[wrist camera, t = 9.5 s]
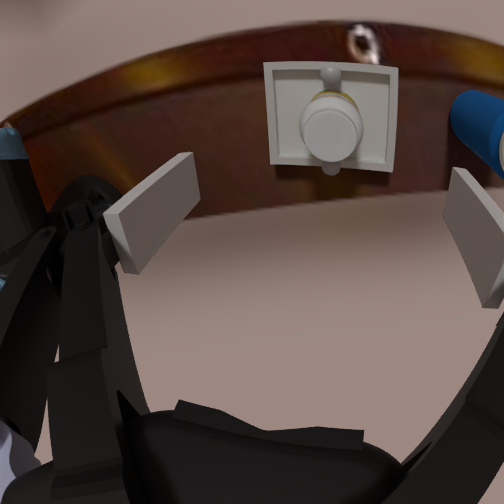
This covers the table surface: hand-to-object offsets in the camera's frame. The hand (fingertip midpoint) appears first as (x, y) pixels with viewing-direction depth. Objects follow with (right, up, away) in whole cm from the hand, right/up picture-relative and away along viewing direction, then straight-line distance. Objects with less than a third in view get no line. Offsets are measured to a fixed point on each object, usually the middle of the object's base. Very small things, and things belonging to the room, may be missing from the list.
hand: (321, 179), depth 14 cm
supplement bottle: (+5, +11, +14) cm, 18 cm away
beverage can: (+20, +11, +10) cm, 25 cm away
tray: (+5, +11, +15) cm, 19 cm away
